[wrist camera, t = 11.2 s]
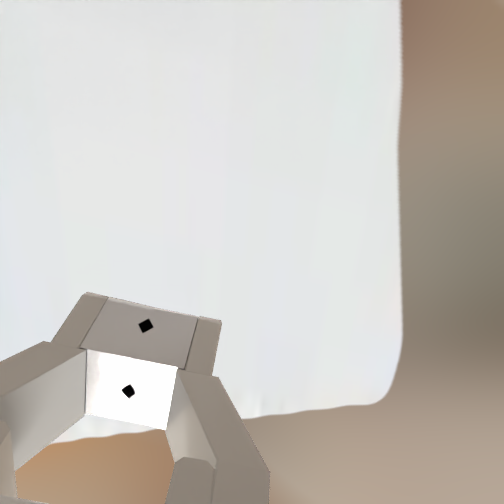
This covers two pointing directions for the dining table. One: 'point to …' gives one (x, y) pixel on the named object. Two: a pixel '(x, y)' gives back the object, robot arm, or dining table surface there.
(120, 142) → the dining table surface
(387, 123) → the dining table surface
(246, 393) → the dining table surface
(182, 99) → the dining table surface
